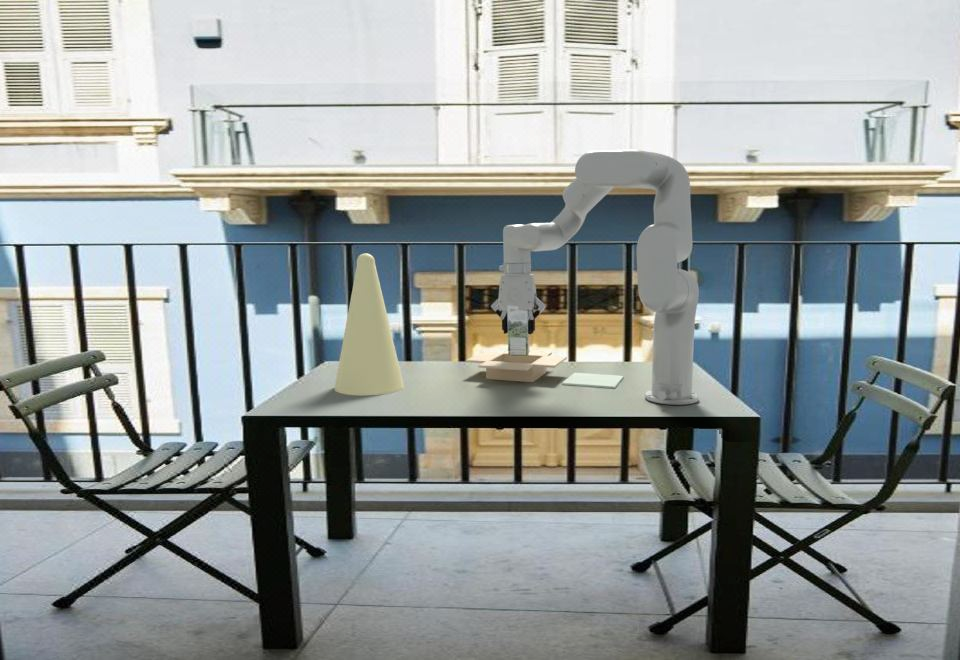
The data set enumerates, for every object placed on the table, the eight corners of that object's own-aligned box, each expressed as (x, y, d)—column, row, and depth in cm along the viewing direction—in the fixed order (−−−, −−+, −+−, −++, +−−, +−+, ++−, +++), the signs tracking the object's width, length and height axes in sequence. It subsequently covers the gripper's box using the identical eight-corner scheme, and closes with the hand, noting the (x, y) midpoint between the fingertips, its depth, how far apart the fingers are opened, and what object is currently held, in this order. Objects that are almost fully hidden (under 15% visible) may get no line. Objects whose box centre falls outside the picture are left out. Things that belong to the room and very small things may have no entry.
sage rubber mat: (614, 388, 183) (614, 386, 183) (562, 384, 188) (562, 382, 188) (623, 377, 196) (623, 375, 196) (574, 374, 201) (574, 372, 201)
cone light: (404, 394, 179) (401, 256, 174) (331, 396, 176) (326, 257, 171) (402, 374, 203) (399, 252, 198) (338, 376, 201) (333, 253, 196)
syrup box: (529, 352, 201) (528, 302, 199) (528, 356, 195) (527, 304, 193) (509, 352, 202) (508, 302, 200) (507, 356, 196) (506, 304, 194)
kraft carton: (548, 388, 183) (548, 369, 183) (458, 381, 192) (457, 363, 192) (571, 369, 207) (571, 353, 206) (489, 364, 216) (489, 348, 215)
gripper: (483, 270, 195) (485, 334, 197) (543, 270, 189) (544, 336, 191) (492, 269, 202) (494, 330, 204) (551, 268, 196) (551, 332, 198)
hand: (518, 332), depth 198 cm, fingers closed on syrup box, 6 cm apart
